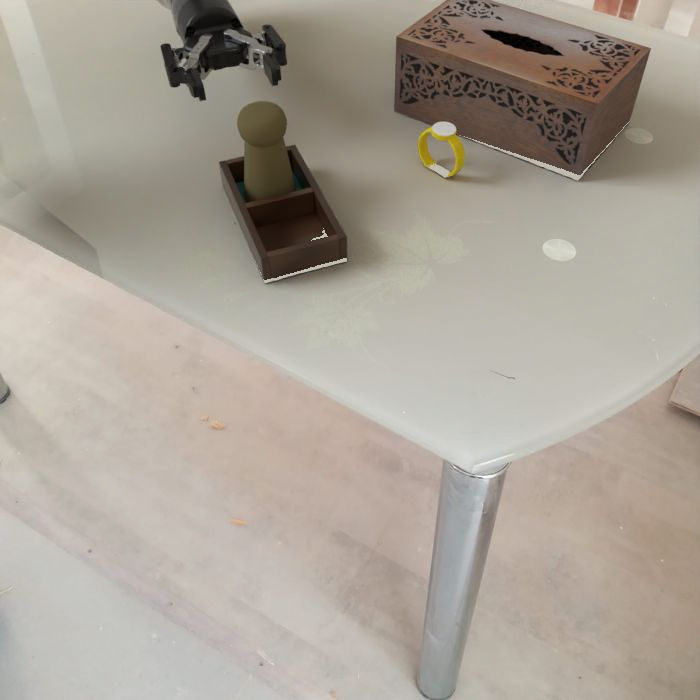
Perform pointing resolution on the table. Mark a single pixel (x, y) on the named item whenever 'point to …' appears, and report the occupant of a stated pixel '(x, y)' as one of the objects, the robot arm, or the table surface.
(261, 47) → the robot arm
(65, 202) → the table surface
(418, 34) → the tissue box cover
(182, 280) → the table surface
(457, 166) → the watch
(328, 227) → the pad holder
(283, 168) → the olive peg doll
